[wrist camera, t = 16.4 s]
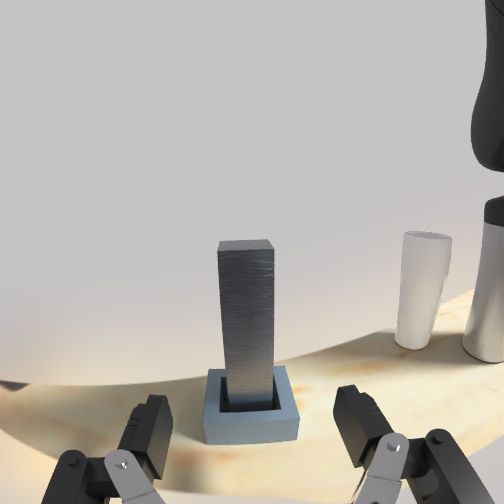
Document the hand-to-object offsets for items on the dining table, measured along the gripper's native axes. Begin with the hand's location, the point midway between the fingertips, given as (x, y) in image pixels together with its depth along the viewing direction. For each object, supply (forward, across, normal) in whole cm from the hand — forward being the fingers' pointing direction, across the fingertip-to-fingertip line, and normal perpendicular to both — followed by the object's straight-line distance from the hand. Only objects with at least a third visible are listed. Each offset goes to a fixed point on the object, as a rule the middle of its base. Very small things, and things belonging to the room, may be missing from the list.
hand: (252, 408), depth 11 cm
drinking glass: (+18, -23, +10) cm, 31 cm away
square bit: (+9, 0, +10) cm, 14 cm away
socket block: (+9, 0, +10) cm, 14 cm away
